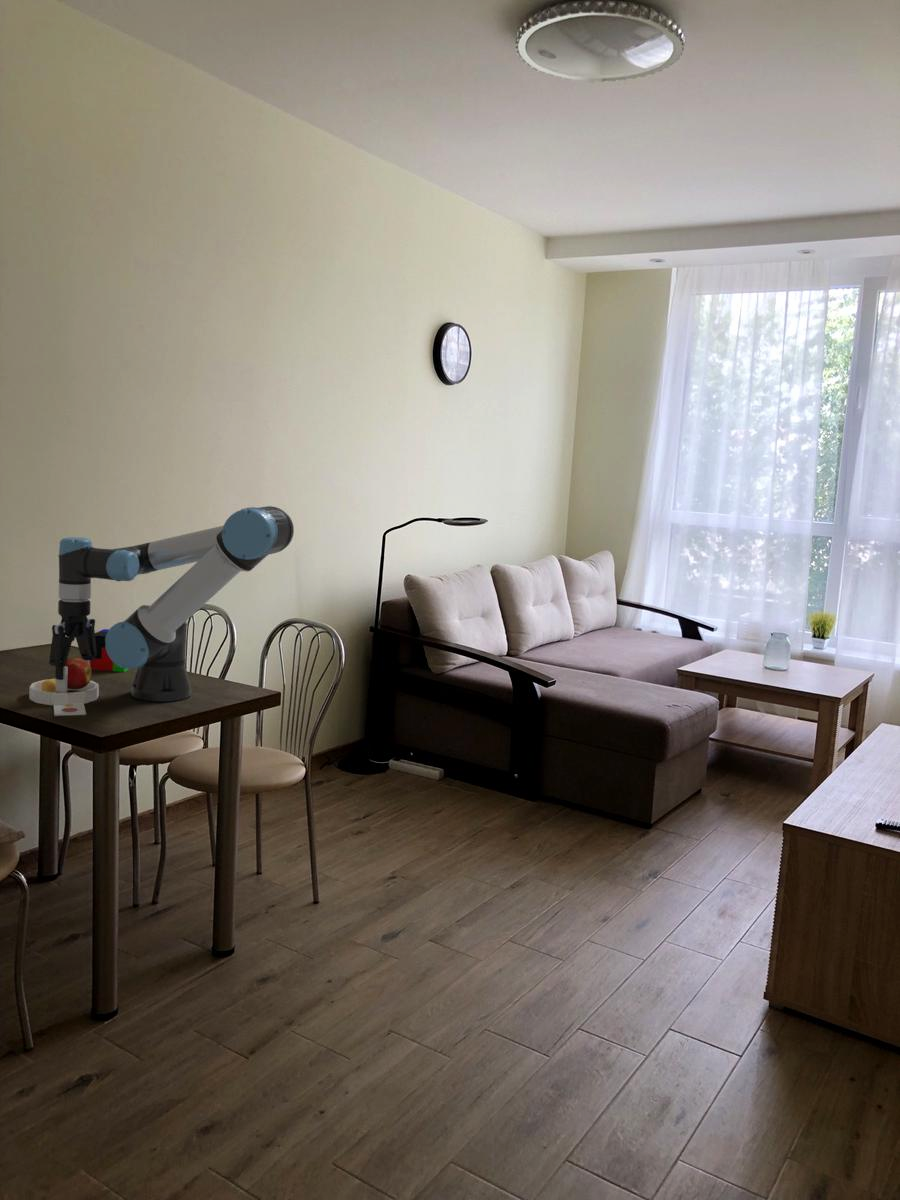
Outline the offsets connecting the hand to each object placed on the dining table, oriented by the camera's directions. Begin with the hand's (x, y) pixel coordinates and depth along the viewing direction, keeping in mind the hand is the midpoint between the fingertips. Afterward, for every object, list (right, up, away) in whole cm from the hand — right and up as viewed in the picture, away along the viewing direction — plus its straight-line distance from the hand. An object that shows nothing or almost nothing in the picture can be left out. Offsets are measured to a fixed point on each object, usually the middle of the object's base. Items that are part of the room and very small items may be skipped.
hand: (73, 688), depth 253 cm
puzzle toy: (-2, +3, +37) cm, 37 cm away
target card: (+3, -4, -10) cm, 11 cm away
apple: (0, -1, 0) cm, 0 cm away
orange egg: (-7, -2, +2) cm, 8 cm away
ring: (-3, -2, +1) cm, 4 cm away
